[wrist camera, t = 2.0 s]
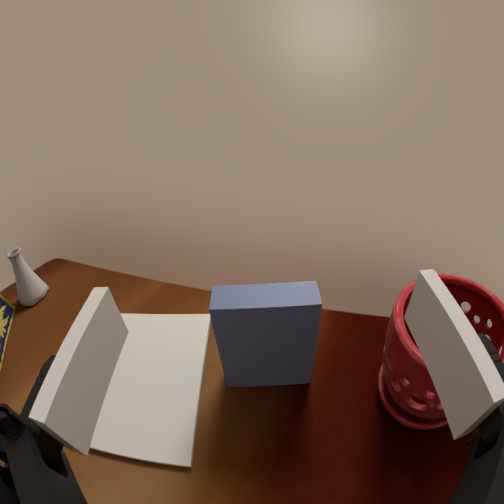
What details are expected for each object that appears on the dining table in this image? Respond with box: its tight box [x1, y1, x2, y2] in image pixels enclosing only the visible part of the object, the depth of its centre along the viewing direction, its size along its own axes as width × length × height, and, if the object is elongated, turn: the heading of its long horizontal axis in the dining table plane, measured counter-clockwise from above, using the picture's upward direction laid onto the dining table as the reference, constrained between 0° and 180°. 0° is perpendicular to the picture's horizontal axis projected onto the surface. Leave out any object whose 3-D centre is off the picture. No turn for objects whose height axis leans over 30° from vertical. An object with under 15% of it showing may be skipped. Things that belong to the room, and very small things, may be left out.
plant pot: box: [378, 274, 504, 430], centre depth 22 cm, size 13×13×12 cm
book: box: [209, 281, 322, 387], centre depth 27 cm, size 3×9×12 cm, turn 90°
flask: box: [6, 248, 49, 306], centre depth 41 cm, size 7×7×10 cm
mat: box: [90, 313, 211, 468], centre depth 30 cm, size 21×14×1 cm, turn 0°
